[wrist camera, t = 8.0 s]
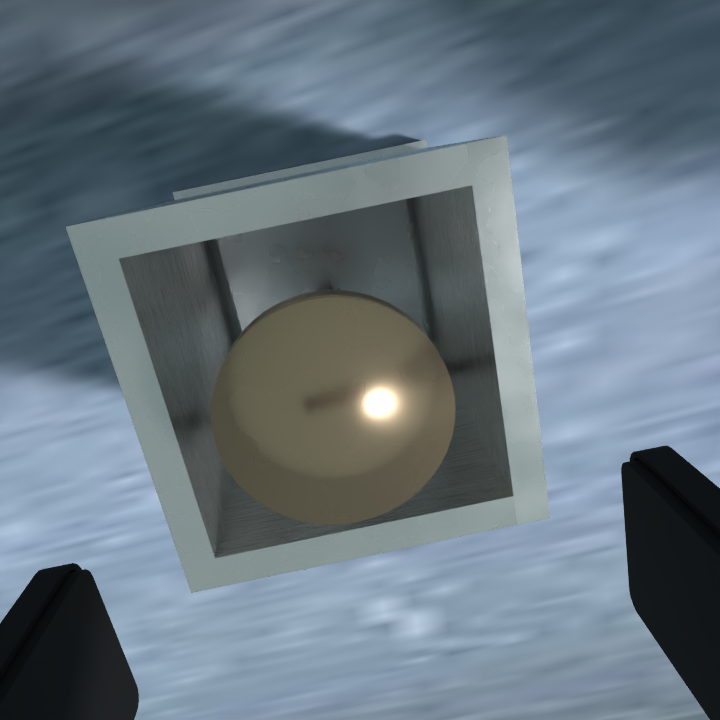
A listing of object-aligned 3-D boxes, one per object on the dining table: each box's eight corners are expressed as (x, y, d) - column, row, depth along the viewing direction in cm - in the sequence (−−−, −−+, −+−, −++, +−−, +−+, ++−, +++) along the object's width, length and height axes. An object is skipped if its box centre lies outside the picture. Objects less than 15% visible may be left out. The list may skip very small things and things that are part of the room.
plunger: (398, 188, 32) (479, 211, 16) (427, 360, 35) (521, 527, 19) (216, 225, 32) (112, 287, 16) (261, 395, 35) (213, 592, 19)
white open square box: (421, 140, 34) (518, 117, 18) (457, 370, 39) (561, 525, 22) (178, 191, 34) (47, 215, 18) (241, 415, 39) (183, 603, 22)
